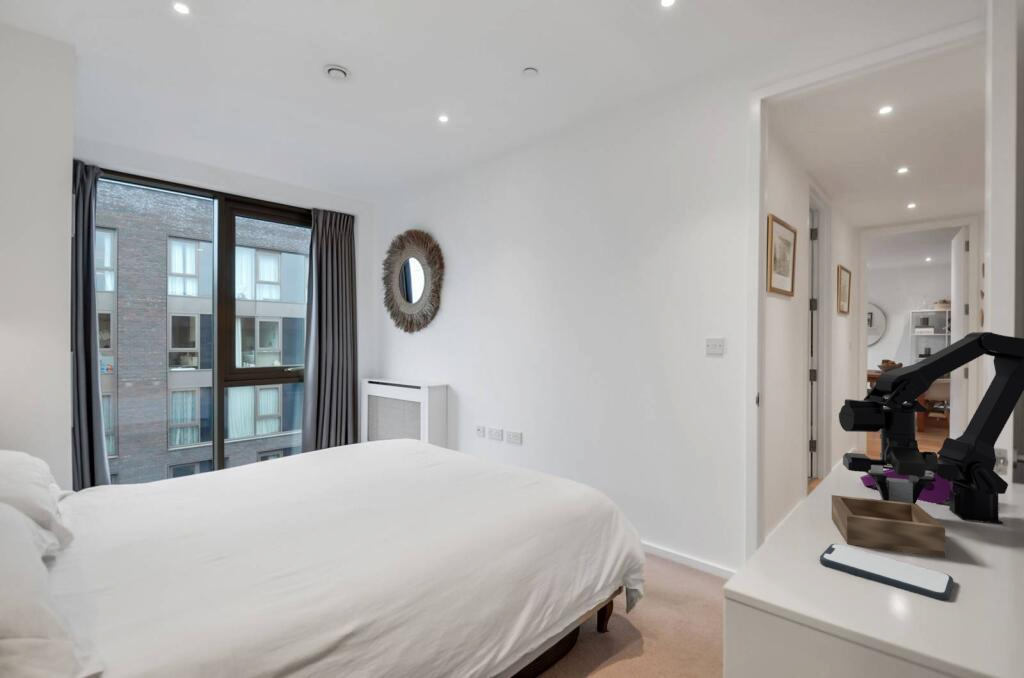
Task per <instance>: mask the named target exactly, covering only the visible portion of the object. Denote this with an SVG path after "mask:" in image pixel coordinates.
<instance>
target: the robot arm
mask: <svg viewBox="0 0 1024 678" xmlns="http://www.w3.org/2000/svg"><path fill="white" fill-rule="evenodd" d="M983 355H986V356H990V357H994V358H993V366H994V371H995V374H994V377H993V379H992V380H991V382H990V383H989V386H988V388H987V390H986V391H985V393H984V395H983V397H982V399H981V401H980V403H978V406H977V409H976V410H975V411H974V414H973V416H972V418H971V419H970V421H969V423H968V425H967V426H966V428H965V430H964V432H963V433H962V435H960V436H958V437H957V438H951V437H946V438H945V439H944V440H943V443H942V446H941V448H940V449H939V450H938V451H937V452H935V451H925V450H924V451H920V449H919V444H918V440H917V437H916V423H917V422H916V420H917V419H916V413H927V412H928V408H927V407H925V406H924V405H922V404H921V402H919V400H917V399H918V398H920V397H921V396H922V395H924V394H925V393H926V392H928V391H929V389H930V388H931V386H932V384H933V383H934V382H935V381H937V380H938V379H940V378H942V377H944V376H947V374H948V375H949V374H950V373H952V372H953V371H954V372H955V370H957V369H959V368H961V367H963V366H965V365H966V364H969V363H970V362H972V361H974V360H976V359H978V358H979V357H981V356H983ZM1023 393H1024V337H1015V336H1010V335H1009V336H1008V335H1002V334H998V333H994V332H991V331H984V332H983V331H979V332H977V331H976V332H975V331H974V332H973V331H972V332H970V333H967V334H966V335H965V336H964V337H963V338H961V339H959V340H957V341H955V342H954V343H952V344H950V345H948V346H946V347H944V348H942V349H941V350H939V351H937V352H935V353H933V354H931V355H929V356H927V357H925V358H923V359H922V360H920V361H918V362H916V363H914V364H910V365H907V366H902V367H897V368H894V369H891V370H889V371H886V372H883V373H881V374H880V375H879V376H877V377H876V382H875V385H874V386H873V387H872V388H871V389H870V391H869V392H868V394H867V395H866V396H865V397H864V398H863V399H861V400H859V399H857V400H856V399H850V398H849V399H847V398H846V399H845V400H844V405H842V406H841V408H840V411H839V412H838V422H839V424H840V427H841V428H842V429H843V430H844V431H845V432H848V433H849V432H850V433H851V432H854V433H859V432H860V433H861V432H862V433H863V432H865V433H878V432H880V433H879V439H880V454H879V457H880V459H879V458H877V459H876V458H870V457H868V456H867V455H866V454H865V453H855V452H854V453H853V452H846V453H844V454H843V455H842V465H843V466H844V467H845V468H846V469H847V471H851V472H863V473H866V475H869V476H872V478H873V480H874V482H875V486H876V488H877V492H878V493H879V495H880V497H881V500H885V501H888V494H887V486H886V479H887V475H885V474H884V473H883V470H888V469H894V472H895V473H896V474H898V475H902V476H905V475H909V481H910V482H911V483H913V503H914V504H917V501H918V500H919V499H918V497H919V495H920V493H921V491H922V490H923V488H924V487H925V486H926V485H927V484H928V483H930V482H936V480H937V479H935V478H934V473H936V474H937V475H938V476H939V477H940V478H942V479H947V481H949V482H953V491H950V498H949V507H948V510H949V511H950V512H951V513H952V514H954V515H955V516H957V517H958V518H960V519H961V520H963V521H971V522H972V521H973V522H981V521H983V523H989V524H990V523H992V524H1002V525H1003V524H1004V521H1003V520H1002V519H1000V518H999V495H1004V494H1006V492H1007V490H1008V486H1009V483H1008V482H1006V481H1005V480H1004V479H1003V478H1002V477H1001V476H1000V475H999V474H998V473H997V472H995V471H994V470H995V467H996V464H997V457H996V451H995V445H996V443H997V441H998V440H999V438H1000V435H1001V434H1002V433H1003V430H1004V428H1005V426H1006V424H1007V422H1008V421H1009V418H1010V417H1011V415H1012V414H1013V412H1014V409H1015V408H1016V406H1017V404H1018V403H1019V400H1020V399H1021V397H1022V395H1023ZM955 483H956V484H955Z"/></svg>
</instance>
